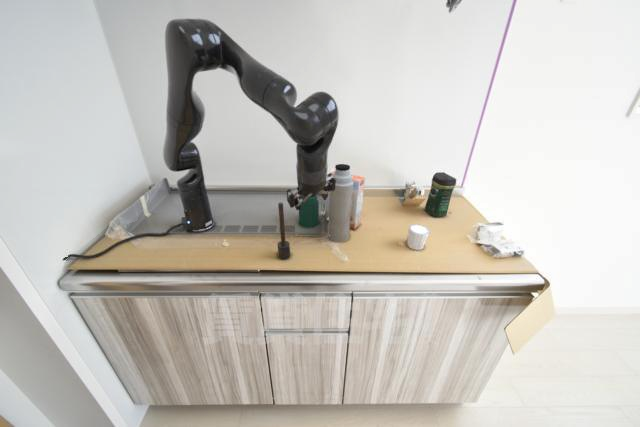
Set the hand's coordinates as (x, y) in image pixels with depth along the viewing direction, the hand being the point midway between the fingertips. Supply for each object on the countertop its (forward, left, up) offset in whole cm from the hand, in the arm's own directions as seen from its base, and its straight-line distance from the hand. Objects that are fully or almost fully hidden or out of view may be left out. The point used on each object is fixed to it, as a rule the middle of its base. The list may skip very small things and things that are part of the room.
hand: (311, 203), depth 74 cm
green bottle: (+8, +19, -19) cm, 28 cm away
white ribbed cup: (+36, -13, -20) cm, 43 cm away
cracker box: (+21, +13, -20) cm, 32 cm away
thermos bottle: (+14, +5, -20) cm, 25 cm away
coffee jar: (+64, +1, -20) cm, 67 cm away
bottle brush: (-9, +3, -19) cm, 22 cm away
